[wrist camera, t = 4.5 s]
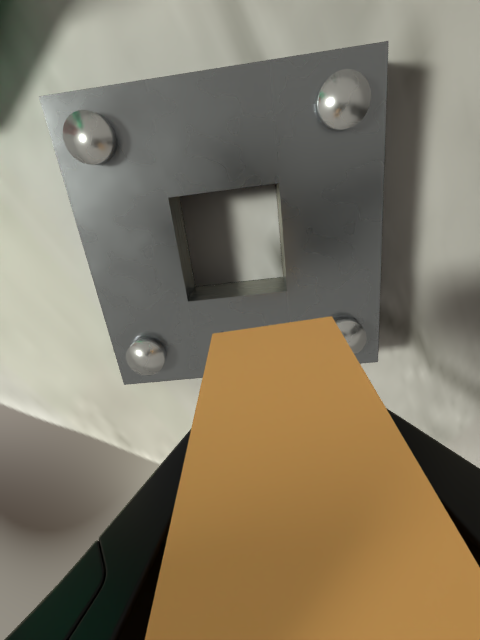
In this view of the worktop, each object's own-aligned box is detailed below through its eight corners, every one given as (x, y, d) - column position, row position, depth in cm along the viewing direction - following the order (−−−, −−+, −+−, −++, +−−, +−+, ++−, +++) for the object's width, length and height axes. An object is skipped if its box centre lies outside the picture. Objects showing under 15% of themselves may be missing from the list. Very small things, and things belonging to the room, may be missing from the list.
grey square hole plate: (368, 60, 16) (394, 35, 13) (364, 341, 21) (381, 367, 18) (68, 106, 17) (30, 93, 14) (137, 362, 22) (120, 390, 19)
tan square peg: (332, 316, 10) (567, 716, 3) (339, 414, 11) (509, 864, 4) (212, 333, 10) (122, 737, 3) (233, 428, 12) (208, 868, 4)
